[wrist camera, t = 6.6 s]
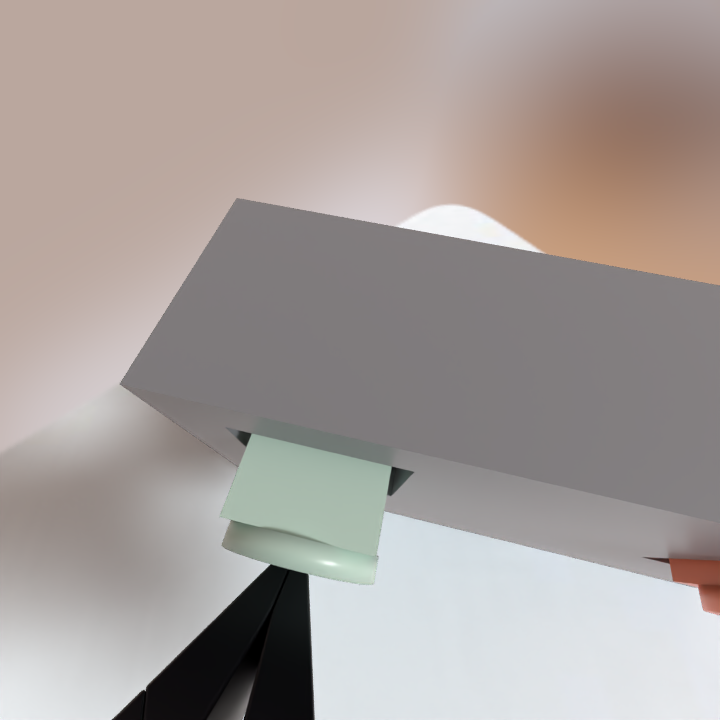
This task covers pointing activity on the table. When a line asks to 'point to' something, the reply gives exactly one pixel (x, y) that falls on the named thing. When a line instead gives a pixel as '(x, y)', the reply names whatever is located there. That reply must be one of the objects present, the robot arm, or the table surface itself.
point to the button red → (700, 580)
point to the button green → (307, 510)
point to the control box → (458, 379)
